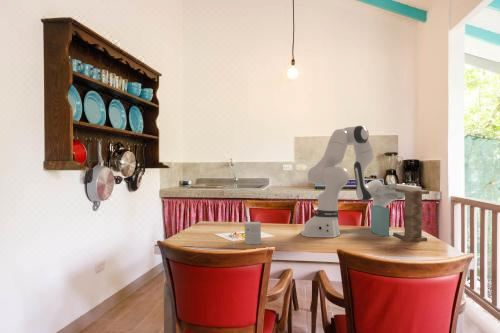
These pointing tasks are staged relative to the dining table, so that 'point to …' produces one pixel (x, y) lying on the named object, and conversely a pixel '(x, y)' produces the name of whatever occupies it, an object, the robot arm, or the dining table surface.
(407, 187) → the domino tile
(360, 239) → the dining table surface
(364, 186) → the robot arm
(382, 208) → the teal block
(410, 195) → the walnut stand
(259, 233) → the small box
